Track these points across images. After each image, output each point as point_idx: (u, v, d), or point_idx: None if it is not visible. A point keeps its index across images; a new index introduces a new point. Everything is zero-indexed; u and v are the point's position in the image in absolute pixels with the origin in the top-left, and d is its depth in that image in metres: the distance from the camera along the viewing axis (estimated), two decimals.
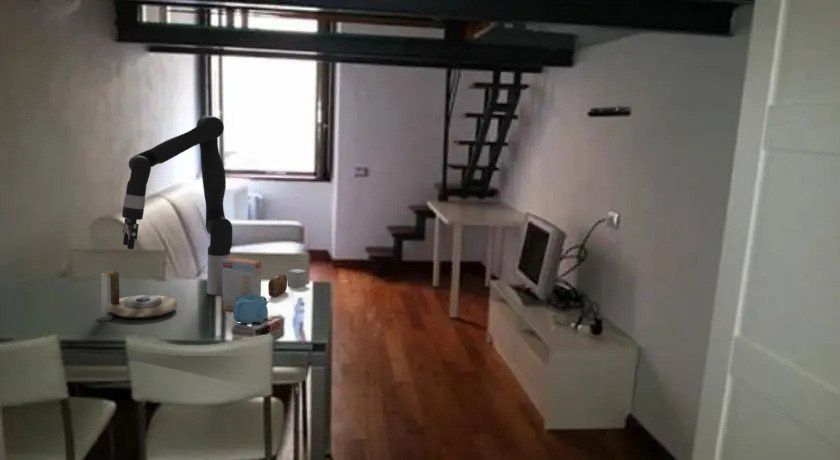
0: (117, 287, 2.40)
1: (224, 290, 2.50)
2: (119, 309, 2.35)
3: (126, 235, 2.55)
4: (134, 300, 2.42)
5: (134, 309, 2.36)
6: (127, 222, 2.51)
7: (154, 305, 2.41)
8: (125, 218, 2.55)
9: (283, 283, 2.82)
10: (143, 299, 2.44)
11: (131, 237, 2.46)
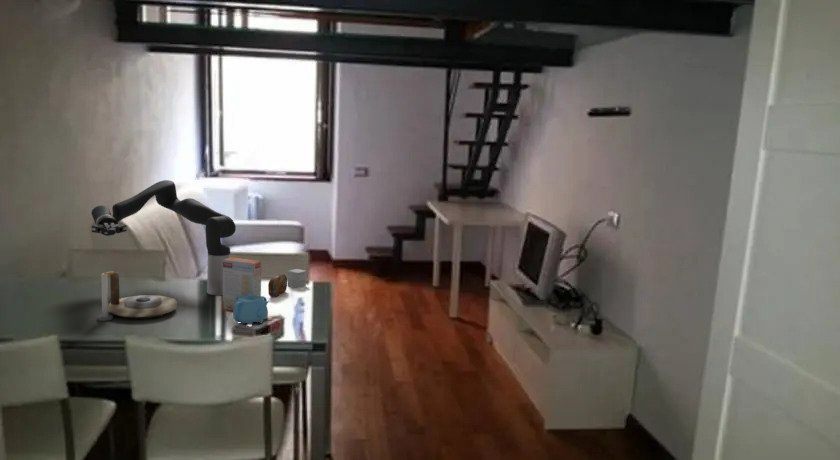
0: (117, 287, 2.40)
1: (224, 290, 2.50)
2: (119, 309, 2.35)
3: None
4: (134, 300, 2.42)
5: (134, 309, 2.36)
6: None
7: (154, 305, 2.41)
8: None
9: (283, 283, 2.82)
10: (143, 299, 2.44)
11: (118, 228, 2.48)
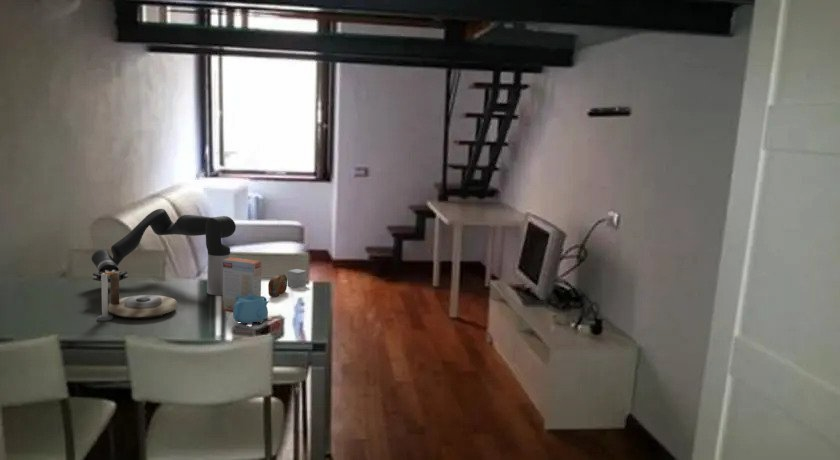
0: (117, 287, 2.40)
1: (224, 290, 2.50)
2: (119, 309, 2.35)
3: None
4: (134, 300, 2.42)
5: (134, 309, 2.36)
6: (105, 271, 2.54)
7: (154, 305, 2.41)
8: (93, 273, 2.50)
9: (283, 283, 2.82)
10: (143, 299, 2.44)
11: (119, 275, 2.51)
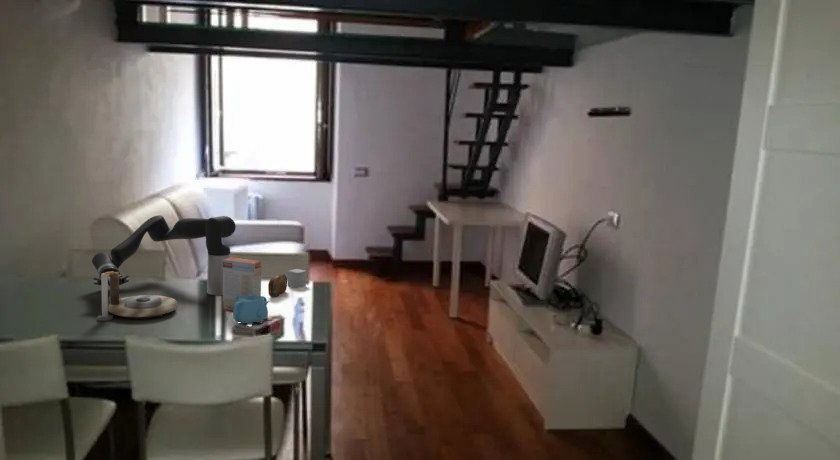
0: (117, 287, 2.40)
1: (224, 290, 2.50)
2: (120, 309, 2.35)
3: None
4: (134, 300, 2.42)
5: (134, 309, 2.36)
6: None
7: (154, 305, 2.41)
8: (94, 277, 2.46)
9: (283, 283, 2.82)
10: (143, 299, 2.44)
11: (121, 279, 2.47)
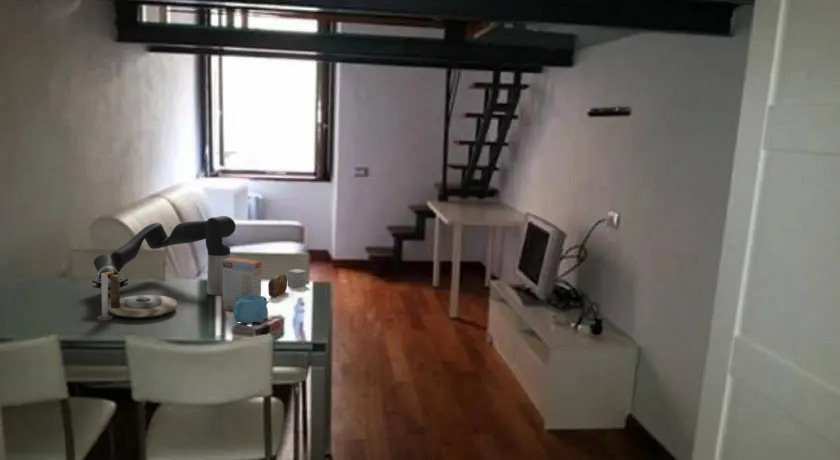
0: (119, 290, 2.36)
1: (224, 290, 2.50)
2: (131, 311, 2.34)
3: None
4: (135, 301, 2.41)
5: (145, 309, 2.37)
6: None
7: (160, 303, 2.44)
8: (93, 280, 2.42)
9: (283, 283, 2.82)
10: (143, 299, 2.44)
11: (119, 282, 2.43)
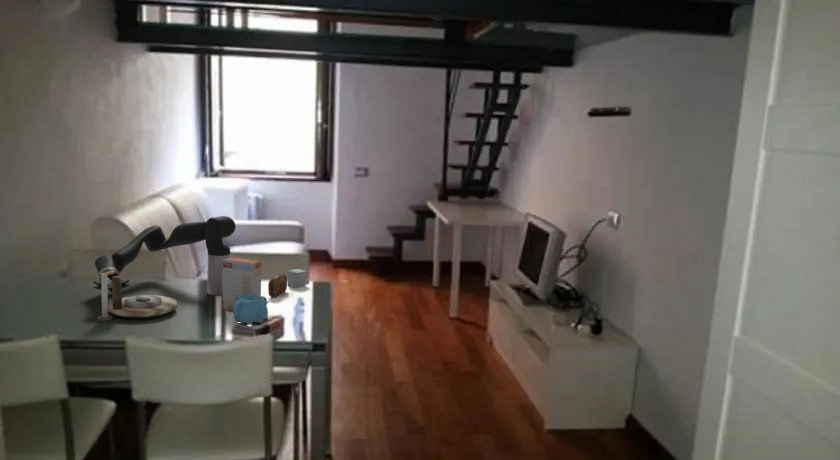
0: (121, 291, 2.35)
1: (224, 290, 2.50)
2: (136, 311, 2.34)
3: None
4: (136, 301, 2.41)
5: (149, 308, 2.38)
6: None
7: (161, 302, 2.45)
8: (94, 281, 2.41)
9: (283, 283, 2.82)
10: (143, 299, 2.44)
11: (121, 284, 2.41)
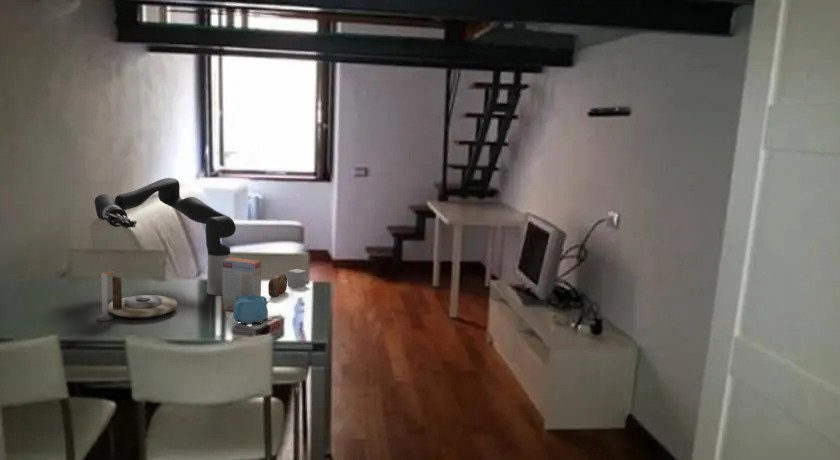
0: (121, 291, 2.35)
1: (224, 290, 2.50)
2: (136, 311, 2.34)
3: None
4: (136, 301, 2.41)
5: (150, 308, 2.38)
6: (116, 215, 2.52)
7: (161, 302, 2.45)
8: (106, 212, 2.48)
9: (283, 283, 2.82)
10: (143, 299, 2.44)
11: (131, 222, 2.50)
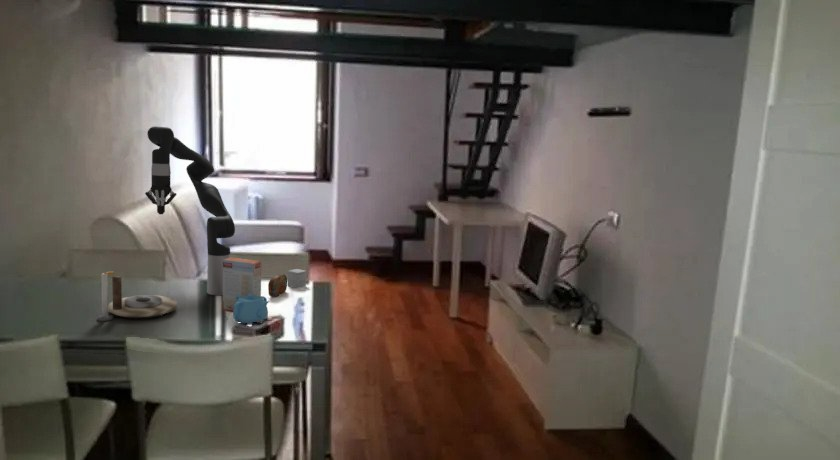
0: (121, 291, 2.35)
1: (224, 290, 2.50)
2: (136, 311, 2.34)
3: None
4: (136, 301, 2.41)
5: (150, 308, 2.38)
6: None
7: (161, 302, 2.45)
8: (175, 193, 2.76)
9: (283, 283, 2.82)
10: (143, 299, 2.44)
11: None
